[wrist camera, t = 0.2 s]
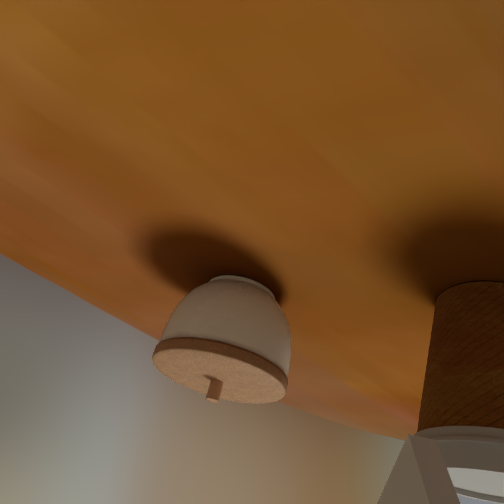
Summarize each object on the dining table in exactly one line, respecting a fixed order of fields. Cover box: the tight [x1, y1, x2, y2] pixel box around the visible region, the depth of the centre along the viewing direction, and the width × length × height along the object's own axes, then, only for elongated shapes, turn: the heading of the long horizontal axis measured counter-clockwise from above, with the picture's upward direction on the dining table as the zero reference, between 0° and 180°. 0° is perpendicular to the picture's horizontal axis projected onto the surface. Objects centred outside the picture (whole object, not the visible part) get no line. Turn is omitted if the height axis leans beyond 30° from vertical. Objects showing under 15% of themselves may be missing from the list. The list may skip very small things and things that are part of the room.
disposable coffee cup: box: [414, 281, 504, 504], centre depth 28 cm, size 10×10×12 cm
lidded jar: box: [152, 275, 291, 403], centre depth 36 cm, size 11×11×9 cm
